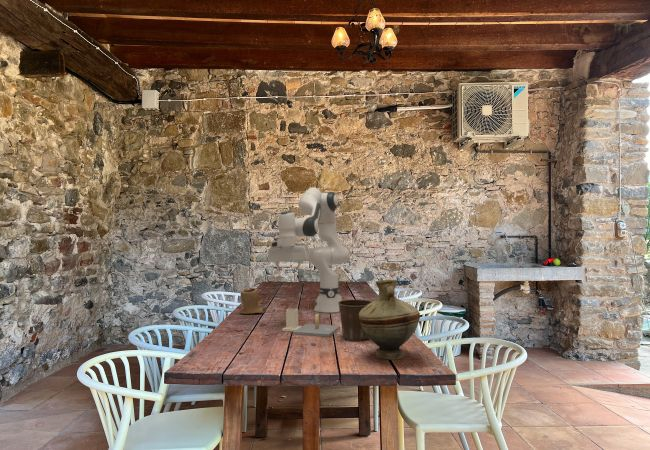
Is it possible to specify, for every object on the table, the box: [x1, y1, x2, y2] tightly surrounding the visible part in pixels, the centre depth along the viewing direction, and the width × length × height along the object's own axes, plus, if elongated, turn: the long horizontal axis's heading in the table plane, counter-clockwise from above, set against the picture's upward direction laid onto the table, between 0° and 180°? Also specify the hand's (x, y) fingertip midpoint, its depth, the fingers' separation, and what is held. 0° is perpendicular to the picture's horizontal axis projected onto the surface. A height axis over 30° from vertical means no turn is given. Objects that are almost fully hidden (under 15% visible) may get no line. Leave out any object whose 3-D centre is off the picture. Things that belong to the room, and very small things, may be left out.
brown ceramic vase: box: [359, 279, 421, 361], centre depth 168 cm, size 24×24×30 cm
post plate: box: [292, 313, 341, 338], centre depth 210 cm, size 18×18×8 cm
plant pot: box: [338, 299, 373, 342], centre depth 197 cm, size 16×16×16 cm
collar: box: [281, 307, 303, 332], centre depth 214 cm, size 8×8×10 cm
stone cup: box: [239, 287, 267, 315], centre depth 255 cm, size 15×12×15 cm
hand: (288, 270), depth 217 cm, fingers open, 8 cm apart
